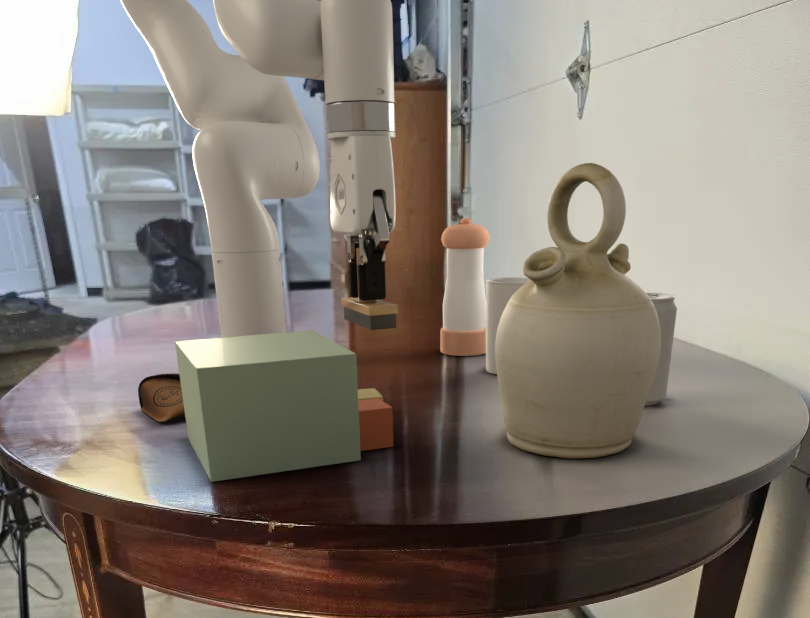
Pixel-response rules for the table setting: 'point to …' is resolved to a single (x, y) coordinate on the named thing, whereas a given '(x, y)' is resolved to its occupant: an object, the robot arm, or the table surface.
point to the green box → (269, 403)
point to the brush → (369, 310)
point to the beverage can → (663, 344)
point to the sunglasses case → (162, 397)
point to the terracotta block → (375, 424)
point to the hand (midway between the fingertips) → (367, 296)
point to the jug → (577, 336)
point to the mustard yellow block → (369, 394)
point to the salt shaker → (464, 290)
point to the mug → (497, 311)
